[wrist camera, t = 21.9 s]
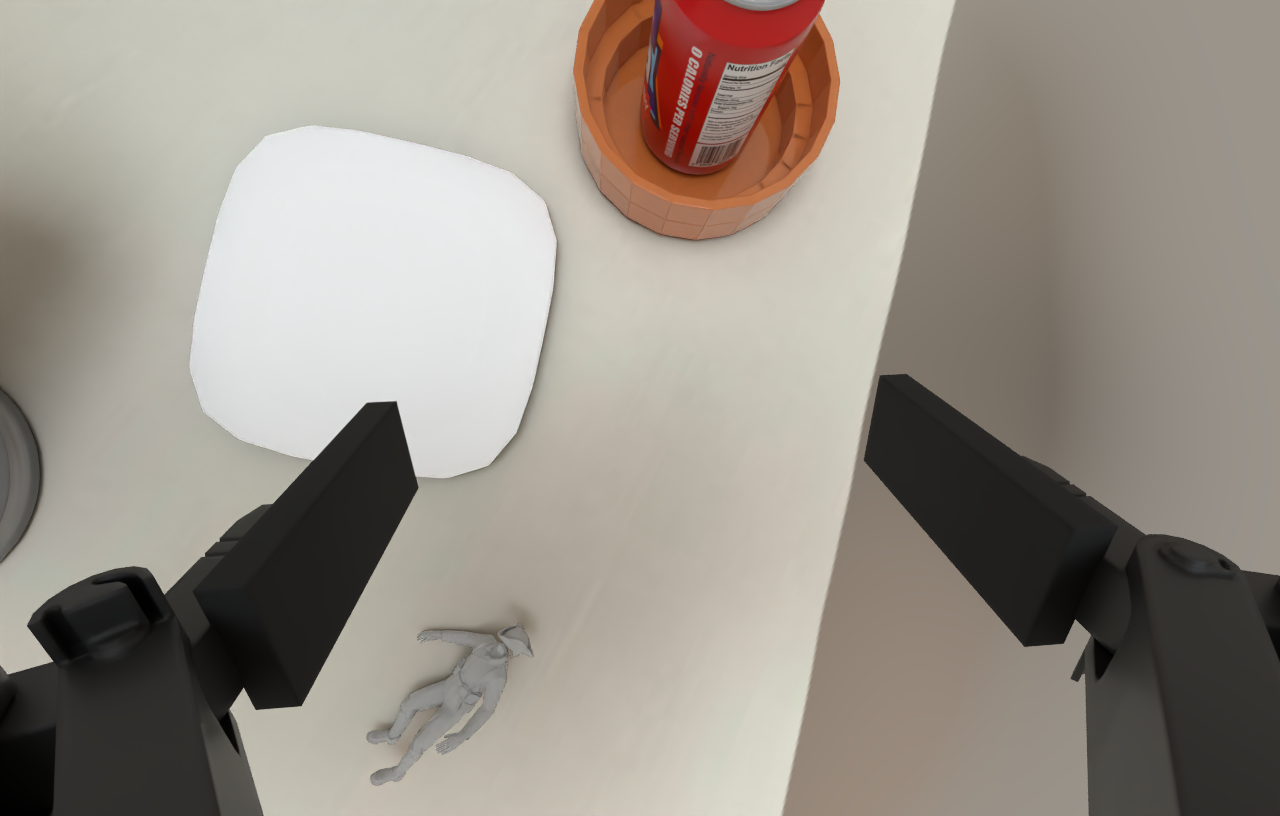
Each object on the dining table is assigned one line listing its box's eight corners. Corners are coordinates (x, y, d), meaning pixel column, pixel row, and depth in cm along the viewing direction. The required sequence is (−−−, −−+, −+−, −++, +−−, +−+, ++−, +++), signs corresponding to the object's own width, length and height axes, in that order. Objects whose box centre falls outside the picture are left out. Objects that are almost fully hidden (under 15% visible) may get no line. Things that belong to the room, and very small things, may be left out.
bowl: (529, 125, 37) (517, 68, 31) (687, -28, 38) (705, -112, 32) (695, 288, 38) (714, 264, 32) (845, 133, 39) (890, 81, 33)
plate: (513, 494, 36) (509, 498, 34) (183, 432, 34) (162, 433, 33) (577, 190, 37) (576, 179, 35) (257, 114, 35) (240, 99, 34)
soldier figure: (359, 690, 36) (456, 576, 33) (425, 686, 39) (518, 582, 37) (371, 818, 31) (487, 696, 28) (445, 800, 34) (555, 690, 31)
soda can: (696, 203, 37) (765, 59, 22) (614, 125, 37) (628, -76, 22) (769, 126, 38) (885, -66, 23) (689, 48, 37) (753, -200, 22)
